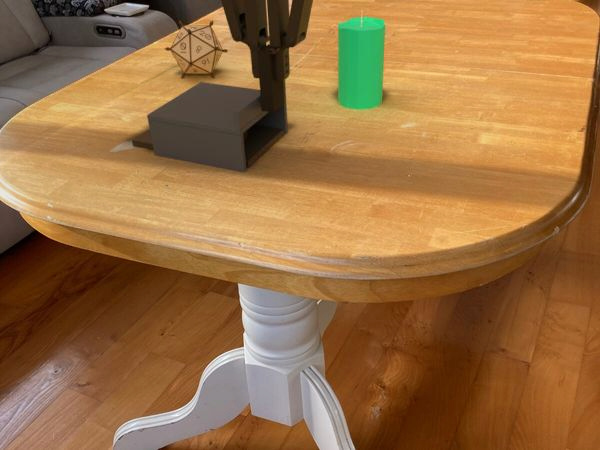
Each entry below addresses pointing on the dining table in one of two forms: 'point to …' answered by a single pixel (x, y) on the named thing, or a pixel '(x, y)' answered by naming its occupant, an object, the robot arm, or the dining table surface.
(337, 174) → the dining table surface
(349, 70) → the candle
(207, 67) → the game die
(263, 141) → the dark grey button base
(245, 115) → the cover
